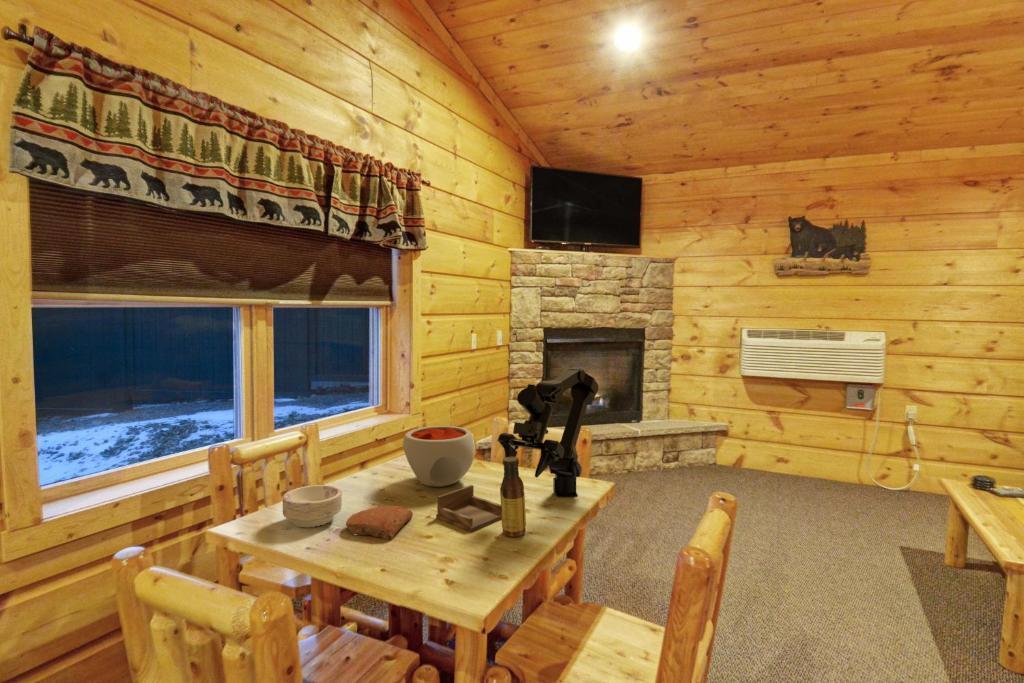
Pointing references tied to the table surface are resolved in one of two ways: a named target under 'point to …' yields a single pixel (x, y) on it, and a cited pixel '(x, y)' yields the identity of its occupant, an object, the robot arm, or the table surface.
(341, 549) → the table surface
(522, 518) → the sauce bottle
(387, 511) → the brown rounded slab
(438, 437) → the pot
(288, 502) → the beige round bowl
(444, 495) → the brown wooden tray
